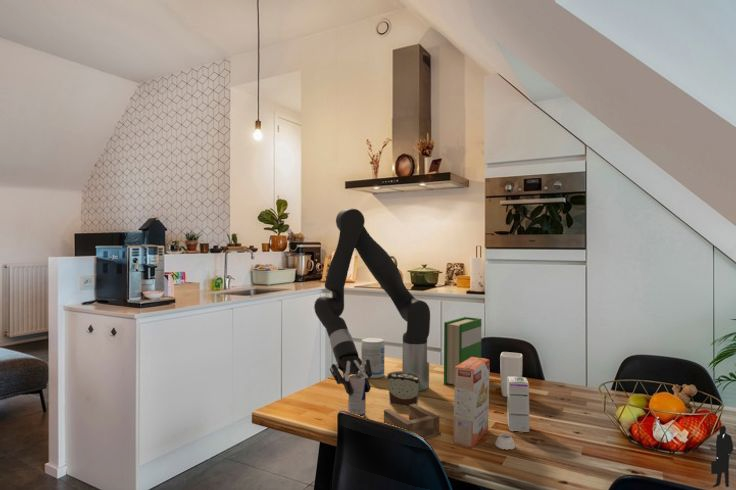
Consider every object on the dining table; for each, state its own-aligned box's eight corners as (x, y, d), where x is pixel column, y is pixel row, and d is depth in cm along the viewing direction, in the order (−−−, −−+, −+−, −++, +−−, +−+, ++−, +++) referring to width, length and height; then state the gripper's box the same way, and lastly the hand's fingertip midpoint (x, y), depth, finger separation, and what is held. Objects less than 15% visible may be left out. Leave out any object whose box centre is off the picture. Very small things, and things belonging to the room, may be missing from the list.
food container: (426, 403, 151) (426, 373, 151) (420, 409, 146) (420, 378, 146) (392, 397, 156) (392, 369, 156) (385, 403, 151) (386, 373, 151)
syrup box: (529, 433, 127) (530, 382, 127) (508, 431, 128) (508, 381, 128) (526, 425, 133) (527, 376, 133) (506, 423, 134) (506, 375, 134)
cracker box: (474, 449, 117) (474, 369, 117) (452, 443, 120) (453, 366, 120) (490, 430, 129) (490, 358, 129) (469, 426, 132) (470, 355, 132)
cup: (499, 398, 157) (499, 355, 157) (501, 391, 163) (501, 351, 163) (521, 401, 154) (521, 358, 154) (522, 394, 161) (522, 353, 161)
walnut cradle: (415, 420, 136) (416, 403, 136) (440, 435, 125) (440, 416, 125) (382, 428, 130) (382, 410, 130) (405, 444, 119) (405, 424, 119)
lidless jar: (491, 444, 120) (504, 452, 115) (491, 433, 120) (504, 441, 115) (506, 441, 122) (519, 449, 117) (506, 430, 122) (519, 438, 117)
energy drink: (367, 413, 141) (368, 375, 141) (362, 419, 136) (362, 380, 136) (352, 411, 143) (352, 374, 143) (345, 417, 138) (346, 378, 138)
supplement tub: (386, 378, 179) (387, 341, 179) (363, 379, 177) (364, 342, 177) (381, 371, 188) (381, 337, 188) (359, 372, 186) (359, 337, 186)
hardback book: (461, 388, 167) (461, 324, 167) (443, 384, 172) (444, 322, 172) (480, 377, 181) (481, 318, 181) (464, 374, 186) (464, 316, 186)
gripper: (326, 342, 142) (343, 390, 132) (365, 337, 149) (384, 383, 139) (320, 355, 147) (335, 402, 136) (358, 350, 154) (375, 395, 144)
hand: (359, 392), depth 138 cm, fingers closed on energy drink, 5 cm apart
